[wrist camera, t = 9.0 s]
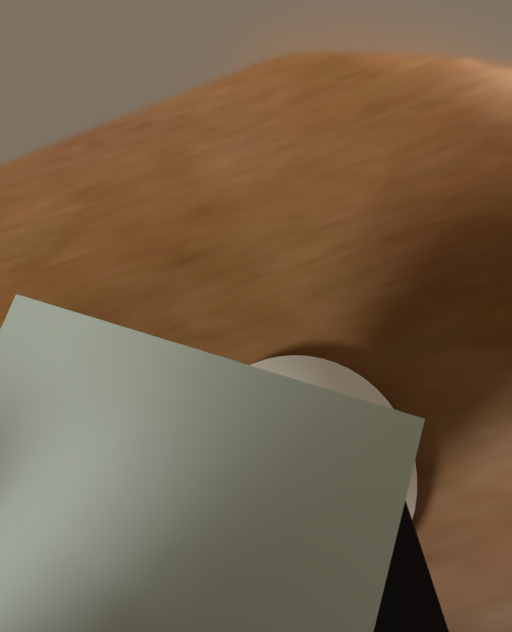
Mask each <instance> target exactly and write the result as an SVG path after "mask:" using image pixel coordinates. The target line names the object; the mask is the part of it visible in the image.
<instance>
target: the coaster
mask: <svg viewBox="0 0 512 632" xmlns="http://www.w3.org/2000/svg"><path fill="white" fill-rule="evenodd" d="M250 366H253V367H257V368H260V369H263V370H266V371H270V372H273V373H276V374H280V375H283V376H286V377H289V378H293V379H296V380H299V381H303V382H306V383H309V384H312V385H316V386H319V387H322V388H326V389H329V390H332V391H335V392H339V393H342V394H345V395H349V396H352V397H355V398H358V399H362V400H365V401H368V402H371V403H375V404H378V405H381V406H385V407H388V408H391V409H393V407H392V406H391V405H390V403H389V402H388V400H387V399H386V398H385V397H384V396H383V395H382V394H381V393H380V392H379V391H378V390H377V389H376V388H375V387H374V386H373V385H372V384H371V383H369V382H368V381H367V380H366V379H365V378H363V377H362V376H360V375H358V374H357V373H355V372H354V371H352V370H351V369H348V368H346V367H344V366H342V365H340V364H338V363H335V362H332V361H329V360H326V359H322V358H317V357H311V356H300V355H290V356H279V357H274V358H269V359H265V360H262V361H259V362H257V363H254V364H251V365H250ZM416 498H417V471H416V464H415V462H414V466H413V471H412V475H411V479H410V483H409V487H408V491H407V495H406V503H407V506H408V509H409V512H410V515H411V518H412V519H413V515H414V511H415V505H416Z"/></svg>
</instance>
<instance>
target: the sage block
mask: <svg viewBox="0 0 512 632" xmlns="http://www.w3.org/2000/svg"><path fill="white" fill-rule="evenodd" d="M424 421H425V419H424V418H421V417H417V416H414V415H411V414H408V413H404V412H401V411H398V410H394V409H391V408H388V407H385V406H381V405H378V404H375V403H371V402H368V401H365V400H362V399H358V398H355V397H352V396H349V395H345V394H342V393H339V392H335V391H332V390H329V389H326V388H322V387H319V386H316V385H312V384H309V383H306V382H303V381H299V380H296V379H293V378H289V377H286V376H283V375H280V374H276V373H273V372H270V371H266V370H263V369H260V368H257V367H253V366H250V365H247V364H244V363H240V362H237V361H234V360H230V359H227V358H224V357H221V356H217V355H214V354H211V353H207V352H204V351H201V350H198V349H194V348H191V347H188V346H184V345H181V344H178V343H175V342H171V341H168V340H165V339H162V338H158V337H155V336H152V335H148V334H145V333H142V332H139V331H135V330H132V329H129V328H125V327H122V326H119V325H116V324H112V323H109V322H106V321H102V320H99V319H96V318H93V317H89V316H86V315H83V314H79V313H76V312H73V311H70V310H66V309H63V308H60V307H57V306H53V305H50V304H47V303H43V302H40V301H37V300H34V299H30V298H27V297H24V296H20V295H17V294H16V296H15V298H14V300H13V302H12V305H11V307H10V309H9V311H8V314H7V316H6V318H5V320H4V323H3V325H2V327H1V329H0V632H374V628H375V624H376V619H377V615H378V611H379V607H380V603H381V599H382V595H383V590H384V586H385V582H386V578H387V574H388V570H389V566H390V562H391V557H392V553H393V549H394V545H395V541H396V537H397V533H398V528H399V524H400V520H401V516H402V512H403V508H404V504H405V500H406V495H407V491H408V487H409V483H410V479H411V475H412V471H413V466H414V462H415V458H416V454H417V450H418V446H419V442H420V438H421V433H422V429H423V425H424Z"/></svg>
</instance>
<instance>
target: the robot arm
mask: <svg viewBox="0 0 512 632" xmlns="http://www.w3.org/2000/svg"><path fill="white" fill-rule="evenodd" d="M374 632H449V631H448V628H447V625H446V622H445V619H444V616H443V613H442V610H441V607H440V604H439V600H438V597H437V594H436V591H435V588H434V585H433V582H432V579H431V576H430V573H429V570H428V567H427V564H426V561H425V558H424V555H423V552H422V548H421V545H420V542H419V539H418V536H417V533H416V530H415V527H414V524H413V521H412V518H411V515H410V512H409V509H408V506H407V503H406V500H405V504H404V508H403V512H402V516H401V520H400V524H399V528H398V533H397V537H396V541H395V545H394V549H393V553H392V557H391V562H390V566H389V570H388V574H387V578H386V582H385V586H384V590H383V595H382V599H381V603H380V607H379V611H378V615H377V619H376V624H375V628H374Z"/></svg>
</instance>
